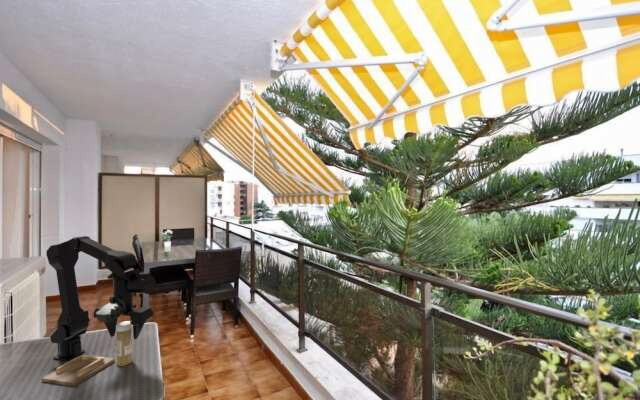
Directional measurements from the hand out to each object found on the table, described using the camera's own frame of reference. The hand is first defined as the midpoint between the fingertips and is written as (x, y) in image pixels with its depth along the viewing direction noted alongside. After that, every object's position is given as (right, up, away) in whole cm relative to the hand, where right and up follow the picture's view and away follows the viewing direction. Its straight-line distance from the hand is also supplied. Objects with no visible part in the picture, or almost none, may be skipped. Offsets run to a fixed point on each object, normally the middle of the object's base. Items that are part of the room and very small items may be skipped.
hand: (124, 337), depth 104 cm
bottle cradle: (-11, -9, -5) cm, 15 cm away
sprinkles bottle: (0, -9, 0) cm, 9 cm away
